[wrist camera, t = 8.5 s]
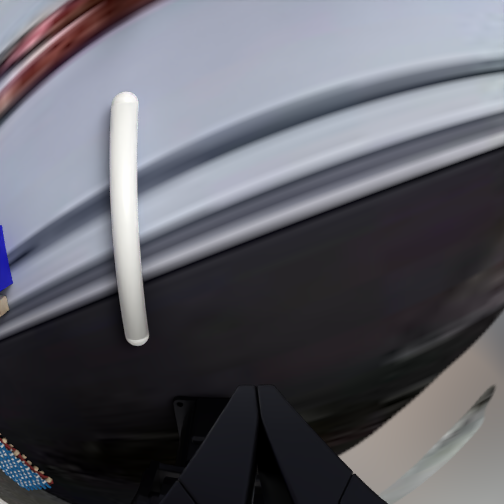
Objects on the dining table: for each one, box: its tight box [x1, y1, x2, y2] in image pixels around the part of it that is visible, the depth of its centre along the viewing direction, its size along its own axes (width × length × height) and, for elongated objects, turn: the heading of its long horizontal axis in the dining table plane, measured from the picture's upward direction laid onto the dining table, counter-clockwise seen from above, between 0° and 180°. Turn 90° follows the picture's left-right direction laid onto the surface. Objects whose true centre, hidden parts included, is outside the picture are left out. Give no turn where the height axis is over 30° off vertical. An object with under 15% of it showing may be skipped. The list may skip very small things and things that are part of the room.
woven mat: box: [0, 434, 53, 491], centre depth 25 cm, size 10×11×2 cm
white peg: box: [110, 92, 149, 346], centre depth 17 cm, size 16×2×2 cm, turn 179°
